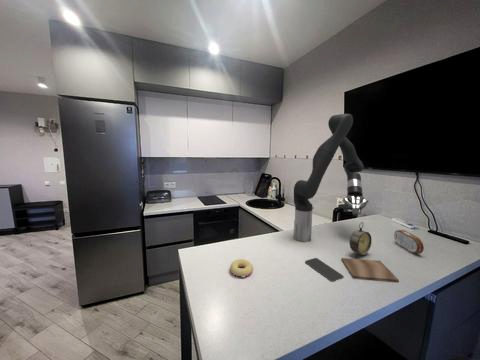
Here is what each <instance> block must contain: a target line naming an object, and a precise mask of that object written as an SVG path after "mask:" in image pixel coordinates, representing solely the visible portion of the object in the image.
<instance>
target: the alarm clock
mask: <svg viewBox="0 0 480 360" xmlns="http://www.w3.org/2000/svg"><path fill="white" fill-rule="evenodd" d="M360 226H361V227H360ZM363 227H364V222H363V221H361V222H360V223H359V225H358V229H356V230H355V231H353V232H352V233H351V234H350V235H351V236H350V237H349V238H350V239H349V248H350V249H351V251H352V252H354V253H355V256H354V259H357V257H358V255H361V256H364V255H366V254H367V253H368V252H369V251H370V248H371V246H372V239H373V238H372V235H371V234H370V232H368V231H365V230H362V229H363Z"/></svg>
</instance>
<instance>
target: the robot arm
mask: <svg viewBox="0 0 480 360" xmlns="http://www.w3.org/2000/svg"><path fill="white" fill-rule="evenodd" d="M353 117H354V116H353V115H352V114H351V113H342V114H341V113H340V114H334V115H331V116H330V118H329V119H328V122H327V123H328V124H327V125H328V128H329V130H330V132H331V134H332V135H331V136H330V137H329V138H327V139H326V140H325V141H324V142H323V143H321V145H319V147H318V148H317V150H316V151H315V153H314V155H313V157H312V170H311V173H310V175H309V178H308V179H307V180H303V179H301V180H297V181H296V182H295V184H294V185H293V203H294V208H295V209H294V221H293V238H294V239H293V240H295V241H299V242H303V243H306V242H310V241H311V240H312V230H313V229H312V228H313V227H312V226H313V225H312V224H313V204H312V203H311V202H310V199H312V198H314V197H315V195H317V193H318V190H319V187H320V185H321V183H322V179H323V177H324V175H325V173H326V171H327V169H328V167H329V166H330V164H331V162H332V161H333V158H334V157H335V155H336V152H337V150H338V148H340V151H341V155H342V157H343V160H344V161H345V162H346V163H345V164H344V165H343V169H344V172H345V174H346V179H347V185H346V191H347V193H346V194H347V195H346V197H345V198H343V199H342V203H343V204H344V205H345V206H346V207H347V208H348V209H350V210H351V211H352V213H351V214H352V216H354V217H358V216H359V214H360V211H362V210H363V209H364V208H365V207H366V206H368V204H369V200H367V199H365V197H364V196H363V185H362V176H361V174H360V173H361V172H362V171H363V170H364V167H365V166H364V164H363V162H362V161H361V159H360V158H359V157H358V154H357V152H356V148H355V146H354V144H353V143H352V142H351V141H350V140H349V139H348V137H346V136H347V134H348V133H349V131H350V129H351V128H352V126H353V124H354V118H353ZM359 210H360V211H359Z"/></svg>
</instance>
